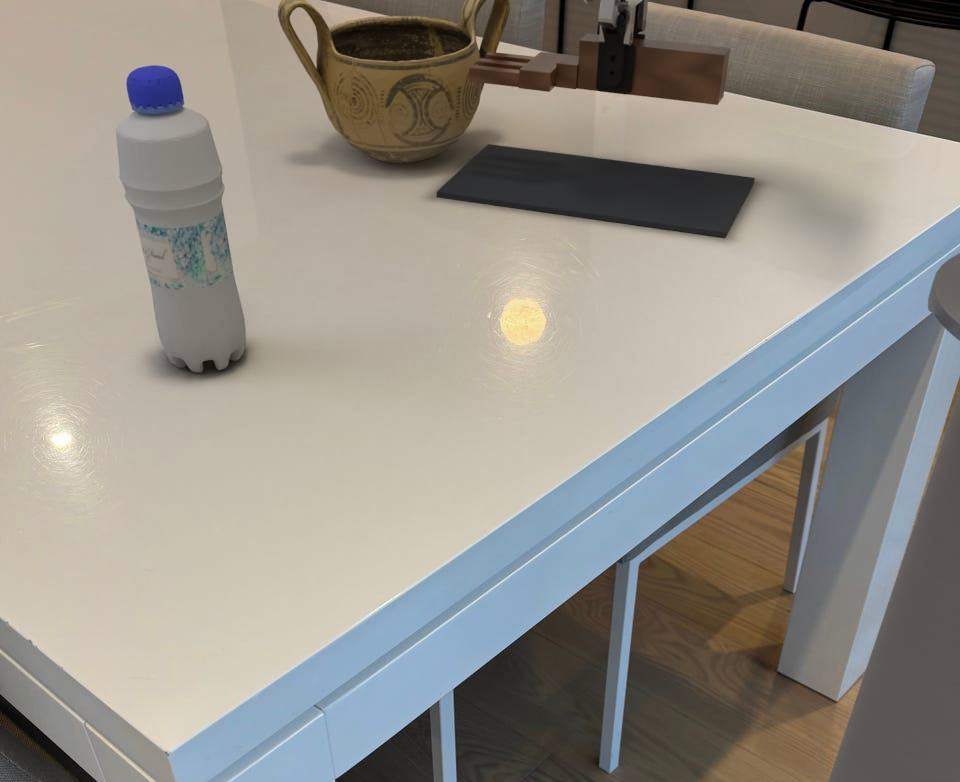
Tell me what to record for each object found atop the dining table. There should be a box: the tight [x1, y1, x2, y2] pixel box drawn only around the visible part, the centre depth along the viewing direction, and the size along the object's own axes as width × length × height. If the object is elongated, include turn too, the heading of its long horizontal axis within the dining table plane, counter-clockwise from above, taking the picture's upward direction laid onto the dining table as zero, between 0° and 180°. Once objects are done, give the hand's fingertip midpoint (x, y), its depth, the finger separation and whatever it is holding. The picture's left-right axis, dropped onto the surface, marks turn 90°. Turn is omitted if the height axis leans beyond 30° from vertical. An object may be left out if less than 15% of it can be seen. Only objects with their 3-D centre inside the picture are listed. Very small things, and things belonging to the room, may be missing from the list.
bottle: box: [115, 64, 247, 374], centre depth 74 cm, size 7×7×20 cm
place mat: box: [436, 143, 756, 238], centre depth 104 cm, size 28×14×1 cm, turn 69°
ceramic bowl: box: [277, 0, 511, 164], centre depth 107 cm, size 22×17×15 cm
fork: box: [469, 33, 731, 106], centre depth 97 cm, size 23×6×4 cm, turn 69°
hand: (618, 84), depth 98 cm, fingers closed on fork, 2 cm apart
